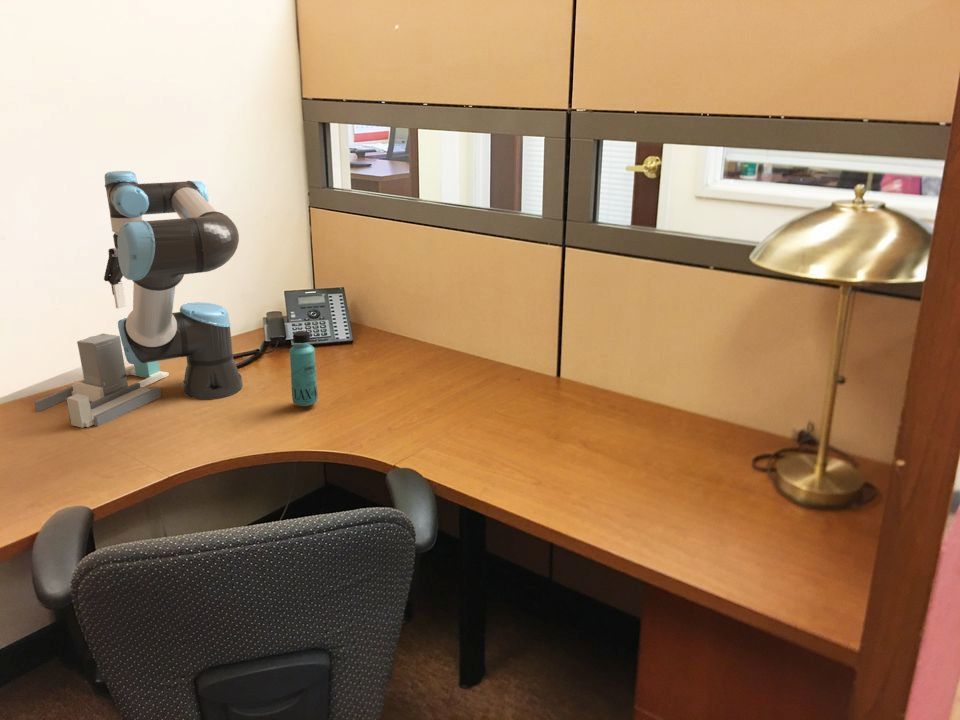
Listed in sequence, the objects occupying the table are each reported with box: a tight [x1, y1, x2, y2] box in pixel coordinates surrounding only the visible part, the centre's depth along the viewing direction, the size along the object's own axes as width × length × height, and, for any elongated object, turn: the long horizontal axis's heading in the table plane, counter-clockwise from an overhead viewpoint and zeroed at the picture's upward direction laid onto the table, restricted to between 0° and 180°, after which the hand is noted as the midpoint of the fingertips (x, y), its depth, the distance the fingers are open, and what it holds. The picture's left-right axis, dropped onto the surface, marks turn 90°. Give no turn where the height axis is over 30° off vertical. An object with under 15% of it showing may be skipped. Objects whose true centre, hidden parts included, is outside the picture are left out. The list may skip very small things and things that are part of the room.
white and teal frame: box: [71, 361, 170, 403], centre depth 202 cm, size 11×22×11 cm, turn 157°
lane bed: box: [34, 380, 162, 427], centre depth 193 cm, size 21×20×2 cm
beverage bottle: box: [289, 330, 319, 407], centre depth 191 cm, size 6×7×20 cm
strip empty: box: [66, 387, 152, 429], centre depth 189 cm, size 5×22×7 cm, turn 157°
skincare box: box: [76, 333, 129, 397], centre depth 196 cm, size 8×7×16 cm
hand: (139, 310), depth 205 cm, fingers open, 13 cm apart
